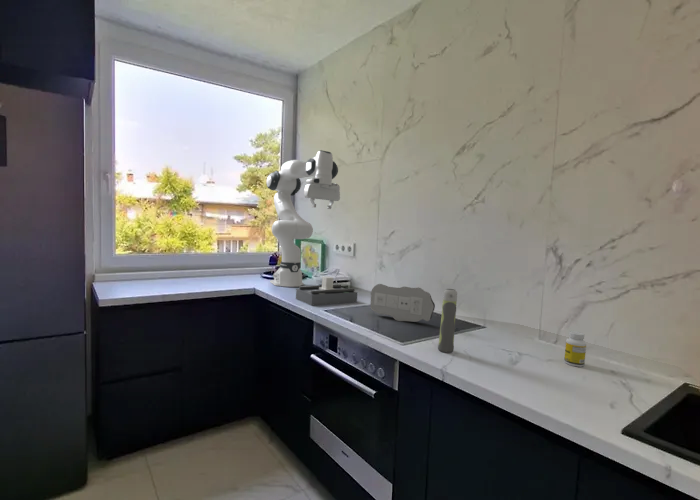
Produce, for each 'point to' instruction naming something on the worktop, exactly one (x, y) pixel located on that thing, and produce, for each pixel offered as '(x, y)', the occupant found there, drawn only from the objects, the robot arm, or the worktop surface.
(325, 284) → the breaker lever
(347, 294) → the breaker housing
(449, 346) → the grey tall cylinder
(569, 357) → the supplement bottle
